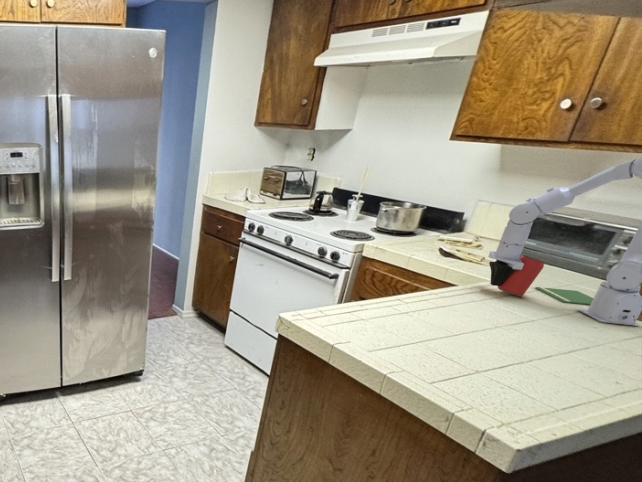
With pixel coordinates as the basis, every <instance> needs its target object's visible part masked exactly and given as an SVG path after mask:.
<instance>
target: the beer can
mask: <svg viewBox="0 0 642 482" xmlns="http://www.w3.org/2000/svg"><path fill="white" fill-rule="evenodd" d="M519 259H520V260H521V262H522V263H524V265H523V268H522V270H519V269H517V270H515V271H514V272H512V273H511V274H510V275H509V276H508V277H507V278H506V280H505V281H504V282H503V283H502V285H501V286H497V289H498V290H500V291H502V292H503V293H506V294H509V295H513V296H516V297H523V296H524V295H525V294H526V292H527V291H528V290H529V288H530V287H531V285H533V283H534V282H535V280H536V279H537V277H538V276H539V274H541V272H542V270H543V269H544V266H545V263H546V260H545V259H543V258H539V257H536V256H532V255H529V254H526V253H521V255H520V258H519Z"/></svg>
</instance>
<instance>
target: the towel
mask: <svg viewBox="0 0 642 482" xmlns="http://www.w3.org/2000/svg"><path fill="white" fill-rule="evenodd" d="M535 289H536V290H538V291H539V292H542V293H544V294H546V295H548V296H549V297H551V298H553V299H556V300H557V301H559V302H561V303H564V304H573V305H574V304H575V305H583V306H590V305H591V303H592V301H593V299H594V297H592V296H589V295H587V294H586V293H583V292H581V291H579V290H573V289H561V288H552V287H543V286H535Z"/></svg>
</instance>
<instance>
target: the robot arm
mask: <svg viewBox="0 0 642 482" xmlns="http://www.w3.org/2000/svg"><path fill="white" fill-rule="evenodd" d="M634 177H636V178H638V179H640V180H642V156H640V157H638V158H634V159H631V160H628V161H624V162H622V163H619V164H616V165H614V166H613V165H612V166H611V167H608V168H607V169H605V170H603V171H601V172H600V171H599V173H596V174H595V175H592V176H590V177H588V178H586V179H584V180H581V181H580V182H578V183H575V184H574V185H571V186H569V187H565V186H557V187H555V188H554V187H550V188H548V189H546V192H544V193H542V194H540V195H538V196H535V197H534V198H531V197H530V198H528V199H526V202H524V203H520V204H516V206H514V207H513V208H511V210H510V212H509V213H508V218H509V219H508V221H507V223H506V226H505V227H504V229H503V232H502V234H501V237H500V240H499V242H498V245H497V248H496V250H495V251H492V250H491V251H489V254H488V258H490V259H492V260H495V261H489V263H488V264H489V267H490V285H491V286H495V287H498V286H501V285H502V283H503V282H504V281H505V280H506V278H507V277H508V276H509V275H510V274H511V273H512V272H514V271H515V270H517V269H519V270H522V268H523V265H524V263H522V262H521V260H520V259H519V258H520V256H522V254H523V250H524V248H525V246H526V243H527V241H528V238H529V235H530V233H531V229H532V226H533V223H534V221H535V220H536V219H538V217H539V216H540V217H545V216H546V215H548V214H551V213H553V212H556V211H558V210H560V209H563V208H565V207H567V206H569V205H572V204H573V202H574V200H575V198H576V197H578V196H580V195H583V194H584V193H587V192H590V191H592V190H594V189H597V188H599V187H602V186H605V185H607V184H608V183H612V182H614V181H621V180H630V179H632V178H634ZM641 284H642V222H640V224H639V226H638V228H637V230H636V231H635V234H634V236H633V238H632V239H631V241H630V242H629V245H628V247H627V248H626V250H625V252H624V254H623V256H622V258H621V259H620V261H619V262H617V263H615V264H614V265H613V266H612V267H611V268H610V270H609V271H608V273H607V275H606V280H604V281H601V282H600V284H599V286H598V288H597V290H596V292H595V295H594V297H593V298H594V299H593V301H592V303H591V305H589V307H588V309H584V308H578V311H579V312H580V313H582V314H585V315H586V316H588V317H591V318H593V319H594V320H596V321H598V322H600V323H607V324H617V325H625V326H635V327H638V326H639V324H638V323H637V320H638V318H639V317H640V315H641V313H642V295H641V294H640V291H641V289H642V288H641V287H639V286H640V285H641Z"/></svg>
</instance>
